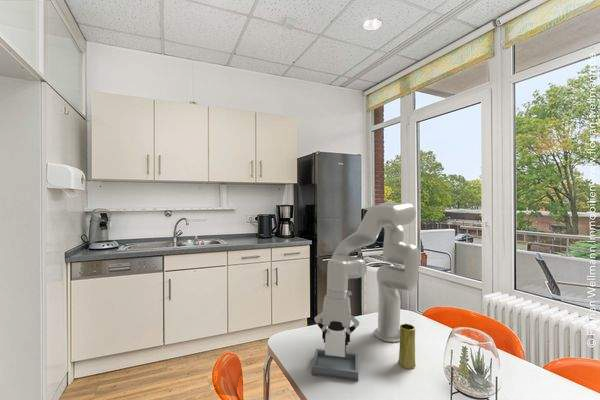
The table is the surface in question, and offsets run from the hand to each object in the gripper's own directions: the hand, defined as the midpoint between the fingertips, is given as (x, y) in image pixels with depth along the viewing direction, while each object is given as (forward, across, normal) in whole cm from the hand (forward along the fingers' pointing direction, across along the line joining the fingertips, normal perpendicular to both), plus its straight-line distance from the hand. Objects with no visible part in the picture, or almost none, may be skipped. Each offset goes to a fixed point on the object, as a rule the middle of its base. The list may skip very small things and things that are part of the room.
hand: (335, 341), depth 105 cm
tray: (+10, 0, 0) cm, 10 cm away
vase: (+10, -26, -8) cm, 29 cm away
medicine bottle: (+4, 0, 0) cm, 4 cm away
